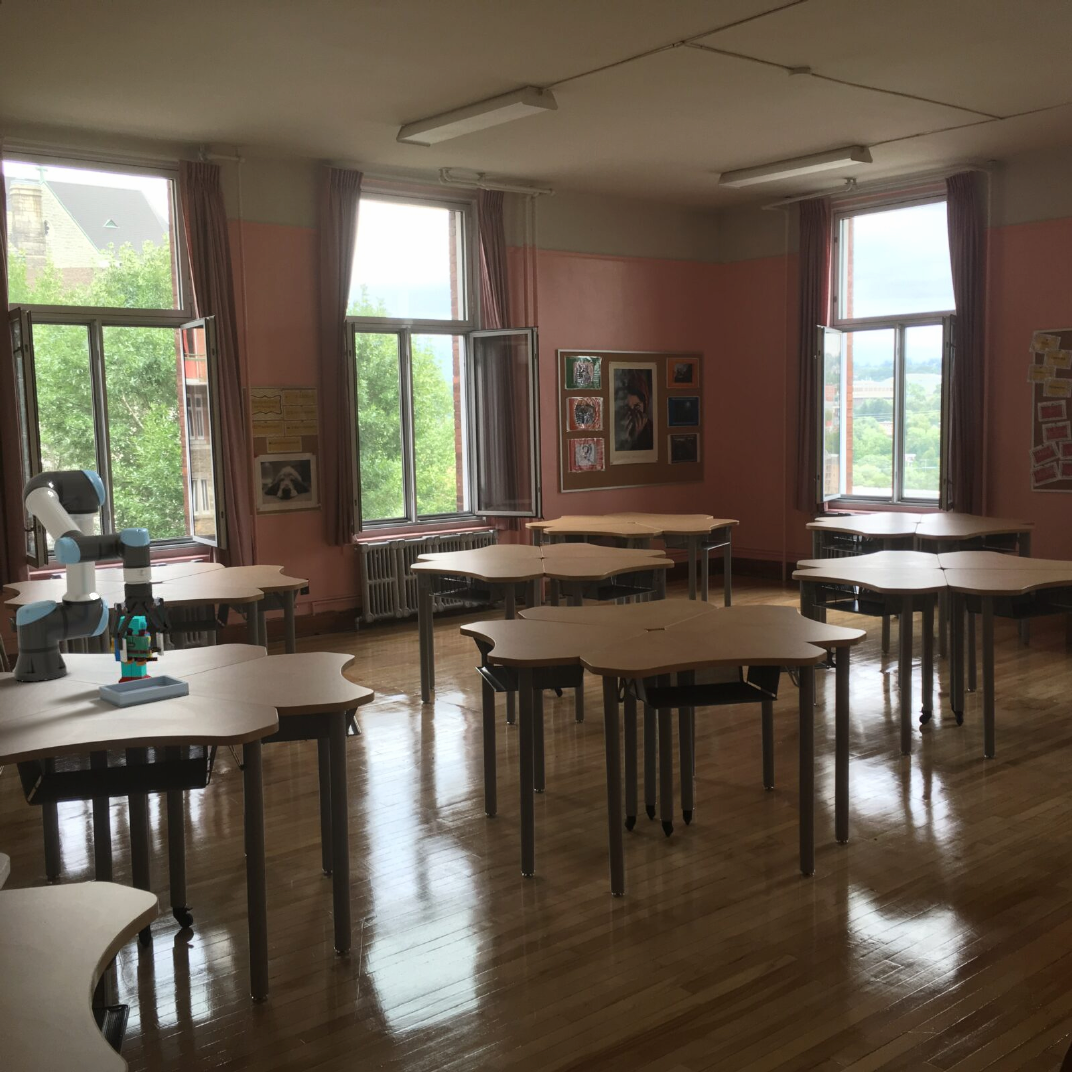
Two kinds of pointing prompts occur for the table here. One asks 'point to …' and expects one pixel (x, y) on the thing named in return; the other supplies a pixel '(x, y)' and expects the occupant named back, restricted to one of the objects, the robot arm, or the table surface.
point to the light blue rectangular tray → (143, 691)
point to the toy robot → (132, 670)
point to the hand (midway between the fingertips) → (142, 658)
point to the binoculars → (139, 648)
